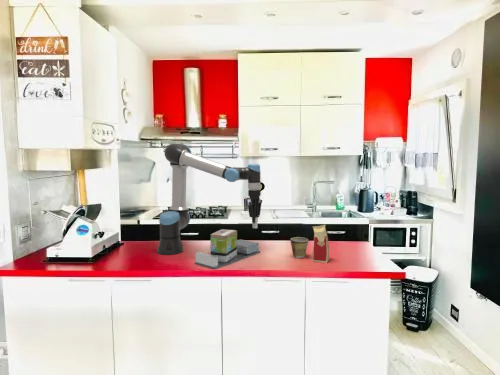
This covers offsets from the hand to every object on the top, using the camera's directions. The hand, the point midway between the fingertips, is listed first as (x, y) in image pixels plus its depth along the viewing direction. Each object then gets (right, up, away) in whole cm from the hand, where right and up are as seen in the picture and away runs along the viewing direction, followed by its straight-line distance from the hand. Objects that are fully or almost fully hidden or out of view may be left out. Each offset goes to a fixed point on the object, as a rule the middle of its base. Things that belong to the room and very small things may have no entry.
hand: (255, 227), depth 214 cm
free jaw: (-7, -12, -7) cm, 16 cm away
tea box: (-17, -15, -20) cm, 30 cm away
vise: (-15, -15, -17) cm, 27 cm away
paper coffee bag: (+36, -15, -21) cm, 44 cm away
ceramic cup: (+26, -15, -13) cm, 32 cm away
